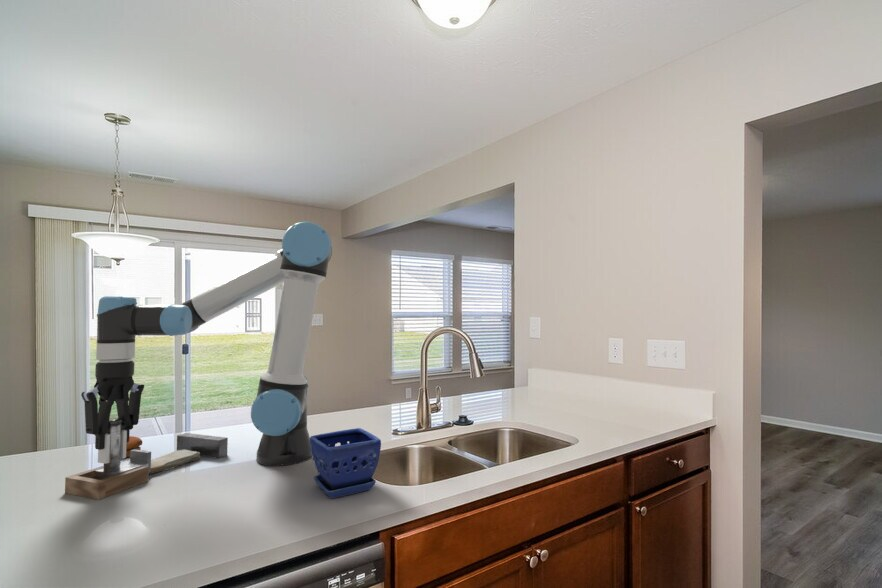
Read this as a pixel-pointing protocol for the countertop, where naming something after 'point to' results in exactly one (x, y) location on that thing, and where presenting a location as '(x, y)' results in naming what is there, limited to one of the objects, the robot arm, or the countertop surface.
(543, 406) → the countertop surface
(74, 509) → the countertop surface
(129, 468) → the ram
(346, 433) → the flower pot
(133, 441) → the burger
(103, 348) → the robot arm
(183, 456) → the stone
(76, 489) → the frame
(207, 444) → the grey rectangular bar
